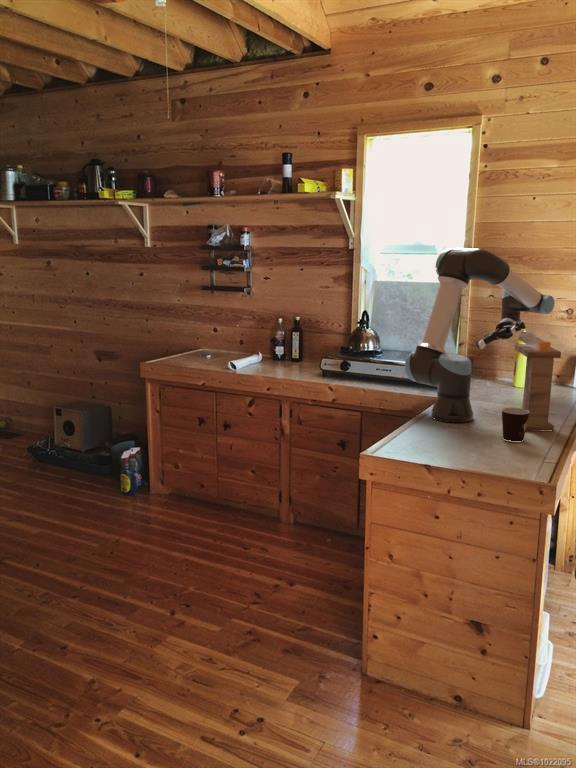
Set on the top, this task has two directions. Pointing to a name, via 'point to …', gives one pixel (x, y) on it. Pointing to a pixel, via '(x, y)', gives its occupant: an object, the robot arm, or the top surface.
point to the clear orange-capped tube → (534, 342)
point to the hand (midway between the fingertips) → (496, 339)
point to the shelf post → (538, 385)
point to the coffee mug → (514, 423)
